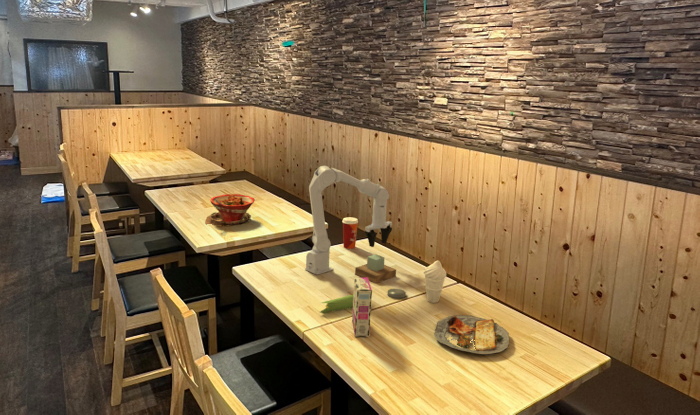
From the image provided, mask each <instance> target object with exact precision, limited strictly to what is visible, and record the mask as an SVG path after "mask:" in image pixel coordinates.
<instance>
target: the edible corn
mask: <svg viewBox="0 0 700 415" xmlns="http://www.w3.org/2000/svg"><path fill="white" fill-rule="evenodd" d="M353 295H354V293H353V294H349V295H345V296H342V297H337V298H334V299H329V300H326V301H322V302H321V304H325V308H324V309H322V310H320V311H319V313H321V314H325V313H330V312H336V311H343V310H347V309H353Z"/></svg>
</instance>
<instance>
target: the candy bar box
mask: <svg viewBox="0 0 700 415" xmlns="http://www.w3.org/2000/svg"><path fill="white" fill-rule="evenodd" d="M353 279H354V280H353V281H354V285H353V294H354V295H353V308H352V314H351V316H352V319H351V323H352V329H353V335H354V338H357V337H358V338H369V337H370V326H371V311H372V298H373V296H372V295H373V289H372V286H371V283H370V282H371V281H370V280H369V279H368V277H360V276H355V277H354V278H353Z"/></svg>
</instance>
